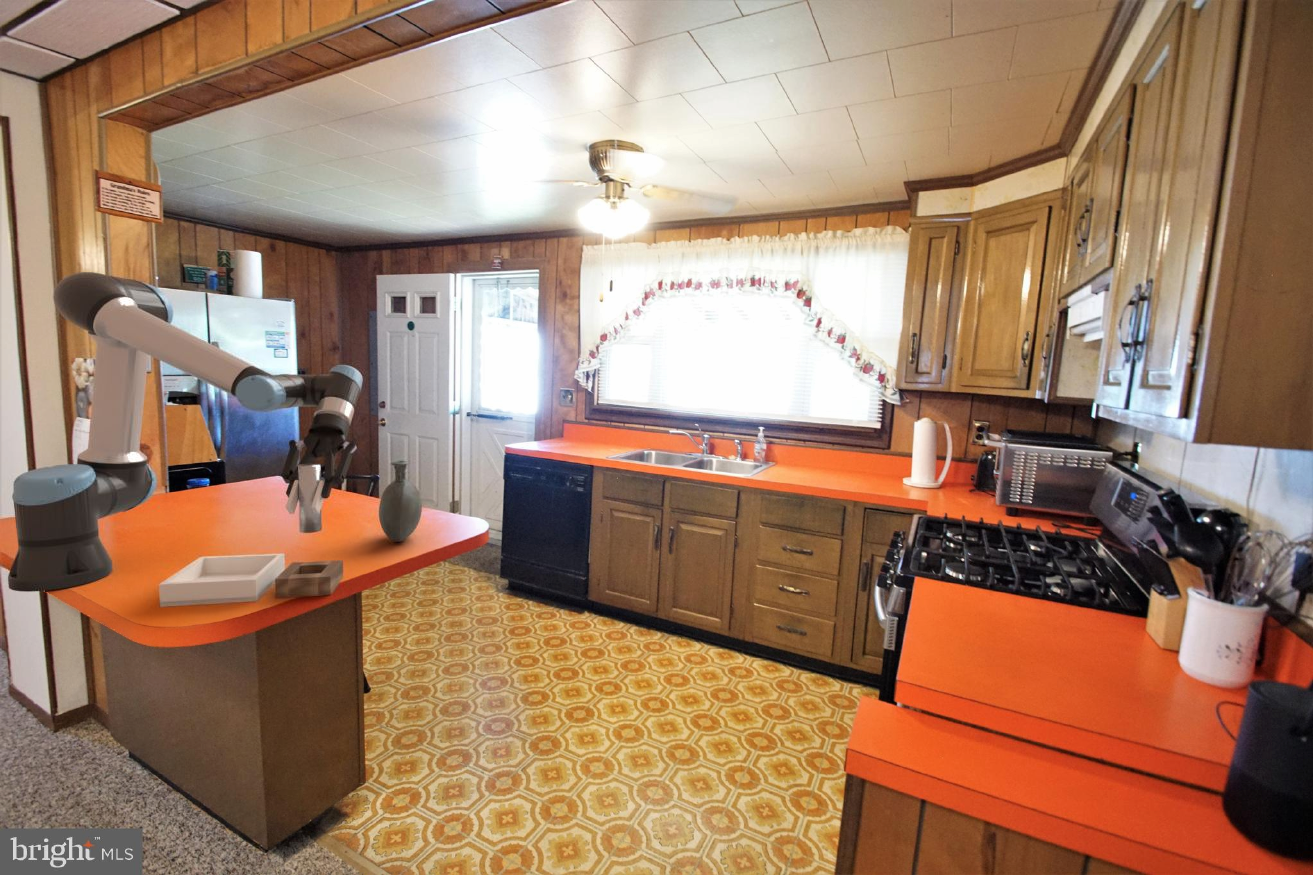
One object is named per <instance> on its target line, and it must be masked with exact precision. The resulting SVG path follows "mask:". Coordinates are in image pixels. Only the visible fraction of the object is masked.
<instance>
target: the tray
mask: <svg viewBox="0 0 1313 875" xmlns="http://www.w3.org/2000/svg"><path fill="white" fill-rule="evenodd" d="M285 569H286V560H285V553H267V554H266V553H265V554H264V553H263V554H241V555H240V554H239V555H238V554H237V555H213V556H200V557H198V558H197V559H196V560H194V561H192V562H191V563H189V564H188V565H186V566H184V567H183V568H182V569H180V570H178V571H177V572H176V573H173V574H172V575H171V576H169V577H168V578H165V580H163V581H162V582H160V583H159V584H158V592H159V596H158V597H159V607H160V608H166V607H167V608H168V607H182V606H197V605H198V606H199V605H201V606H202V605H212V604H213V605H214V604H232V603H248V602H257V601H258V600H260V598H262V596H263V595H264V594H265V593H266V592H267V591H268V590H269V589H270V588H271V587H272V586H274V585H275V579H276V578H277V577H278V576H279V575H280V574H281V573H282V572H283V571H284V570H285Z"/></svg>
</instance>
